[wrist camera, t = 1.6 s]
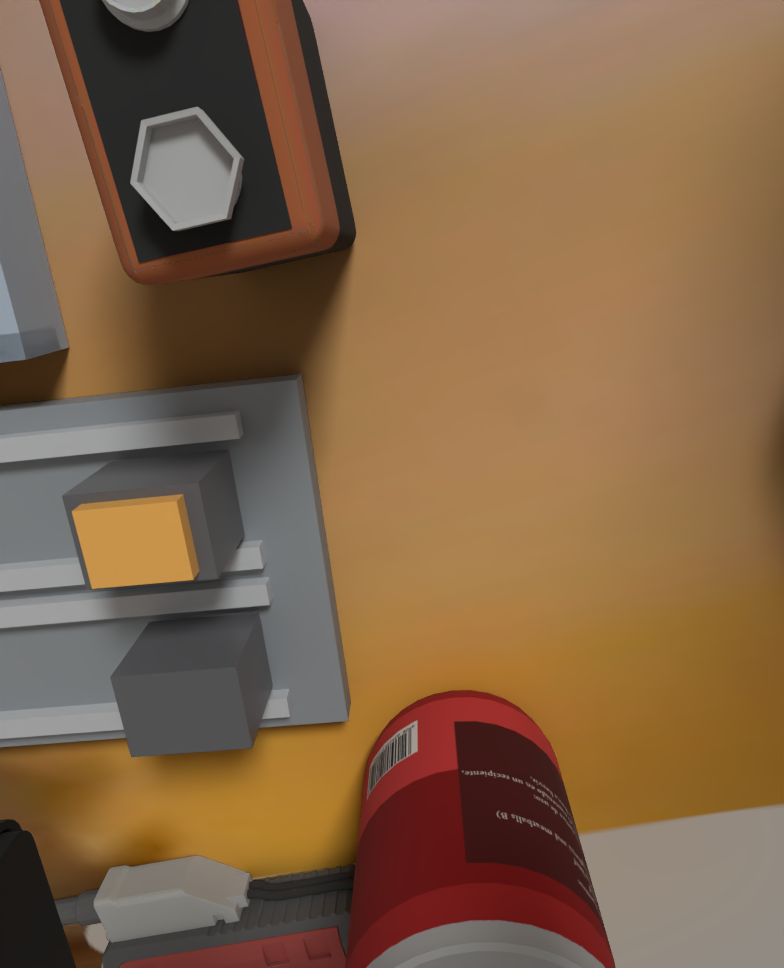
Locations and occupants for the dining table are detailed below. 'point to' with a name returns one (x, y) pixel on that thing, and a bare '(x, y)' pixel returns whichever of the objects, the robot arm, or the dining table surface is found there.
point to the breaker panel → (127, 610)
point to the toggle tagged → (155, 520)
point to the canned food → (470, 846)
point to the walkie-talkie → (217, 916)
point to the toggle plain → (194, 685)
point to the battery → (204, 132)
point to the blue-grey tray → (23, 260)
